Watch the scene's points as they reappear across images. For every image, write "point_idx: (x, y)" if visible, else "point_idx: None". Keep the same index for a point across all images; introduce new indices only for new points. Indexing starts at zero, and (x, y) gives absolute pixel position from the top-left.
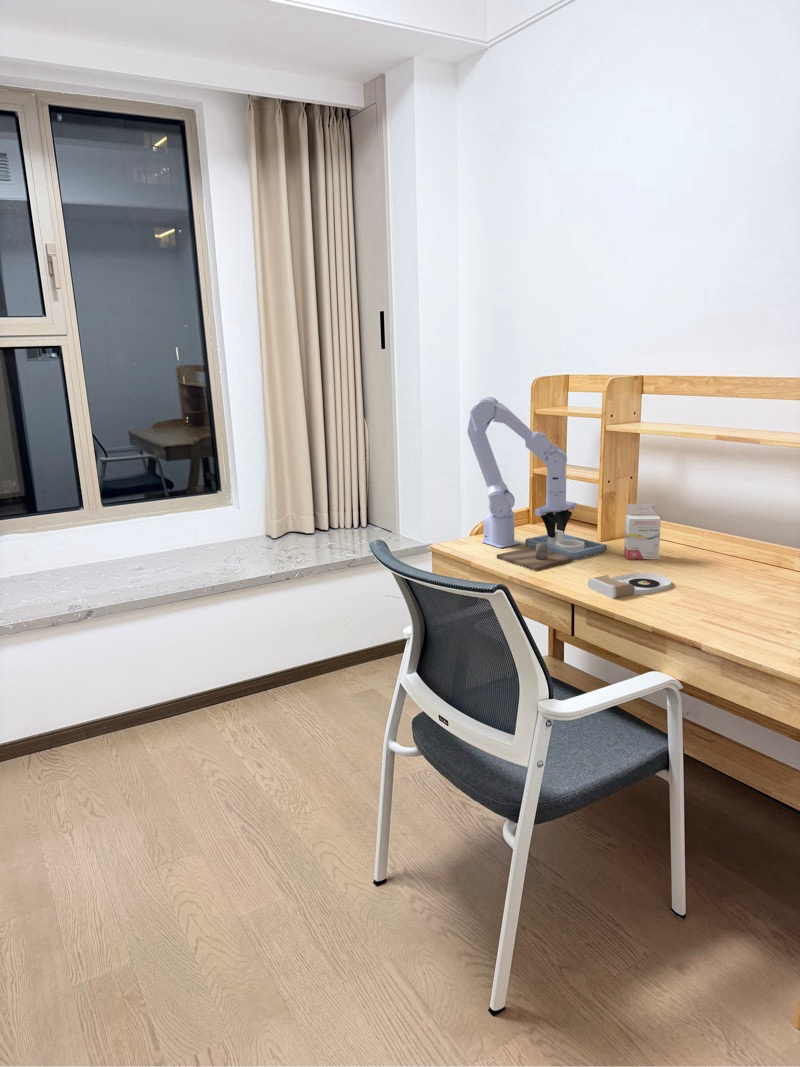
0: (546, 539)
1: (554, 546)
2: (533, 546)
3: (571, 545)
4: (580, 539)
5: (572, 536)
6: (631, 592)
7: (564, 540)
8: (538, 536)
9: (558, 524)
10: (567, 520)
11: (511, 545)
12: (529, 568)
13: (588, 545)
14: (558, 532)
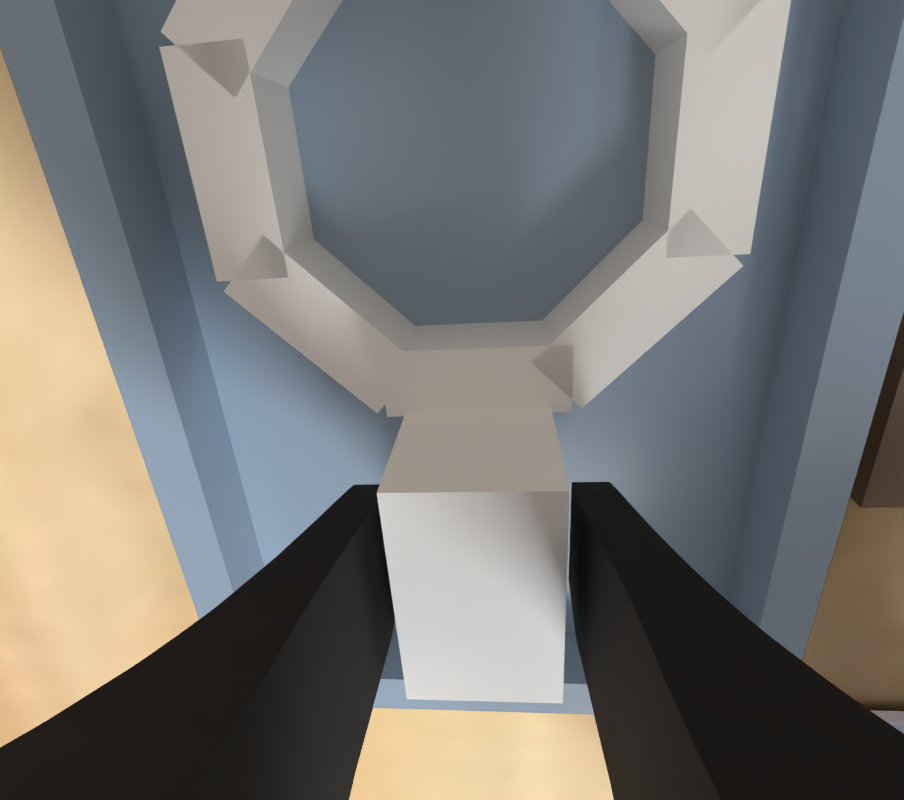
0: None
1: (887, 147)
2: (881, 504)
3: (353, 260)
4: (136, 262)
5: (169, 468)
6: None
7: (427, 358)
8: (562, 707)
9: (342, 736)
10: (115, 706)
11: (888, 711)
12: None
13: (118, 42)
14: (529, 489)
